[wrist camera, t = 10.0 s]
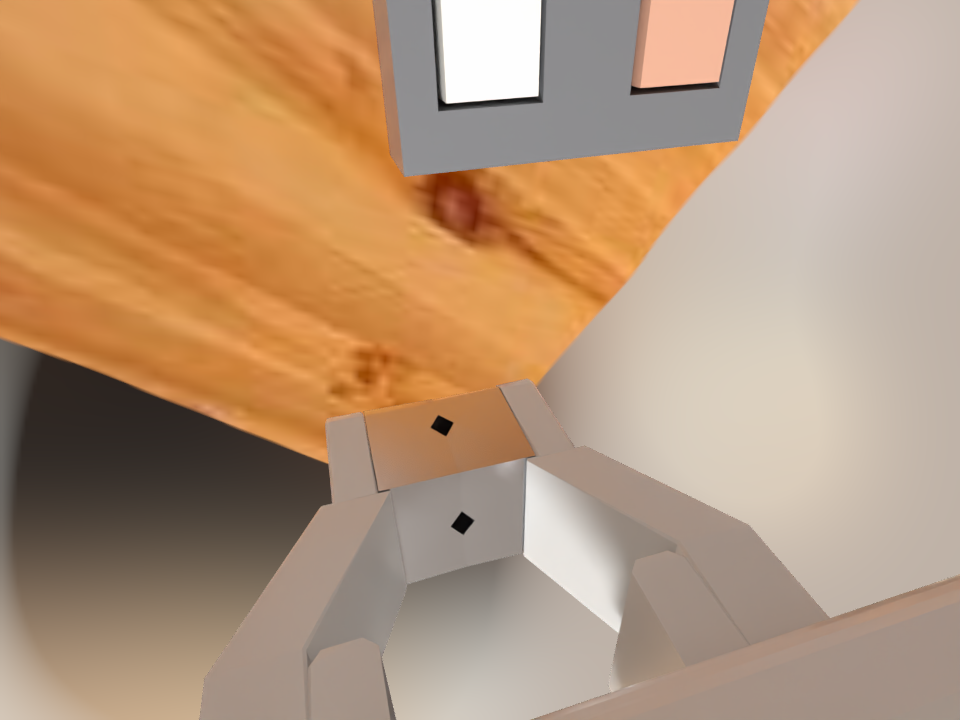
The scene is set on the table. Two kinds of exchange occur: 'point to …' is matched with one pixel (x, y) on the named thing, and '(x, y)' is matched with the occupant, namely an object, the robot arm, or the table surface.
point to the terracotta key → (680, 42)
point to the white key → (486, 49)
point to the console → (557, 92)
